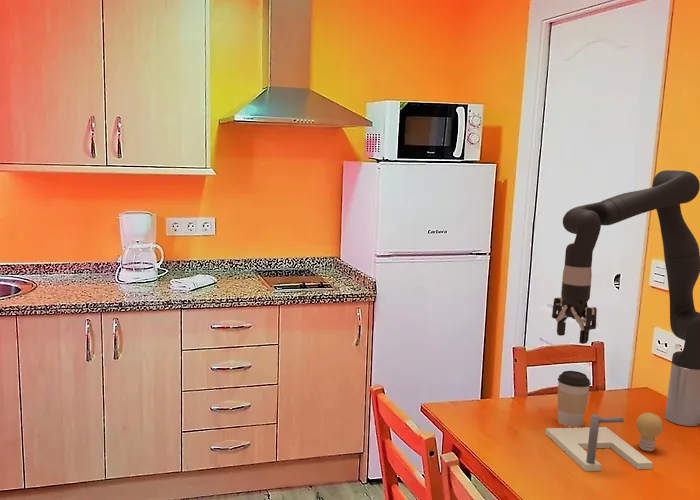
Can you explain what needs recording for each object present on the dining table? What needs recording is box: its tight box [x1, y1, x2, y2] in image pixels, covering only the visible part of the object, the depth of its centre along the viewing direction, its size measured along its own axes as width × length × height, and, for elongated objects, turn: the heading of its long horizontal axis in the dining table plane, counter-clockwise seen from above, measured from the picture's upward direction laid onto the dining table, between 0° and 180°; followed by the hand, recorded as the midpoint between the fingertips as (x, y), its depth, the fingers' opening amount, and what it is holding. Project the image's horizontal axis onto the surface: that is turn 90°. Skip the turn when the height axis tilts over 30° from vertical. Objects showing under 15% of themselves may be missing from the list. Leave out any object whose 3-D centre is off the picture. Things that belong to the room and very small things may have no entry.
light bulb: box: [635, 412, 664, 452], centre depth 180 cm, size 6×6×10 cm
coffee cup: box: [557, 370, 592, 428], centre depth 195 cm, size 9×9×15 cm
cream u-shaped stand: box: [544, 413, 654, 472], centre depth 178 cm, size 18×22×14 cm
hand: (571, 339), depth 188 cm, fingers open, 8 cm apart
